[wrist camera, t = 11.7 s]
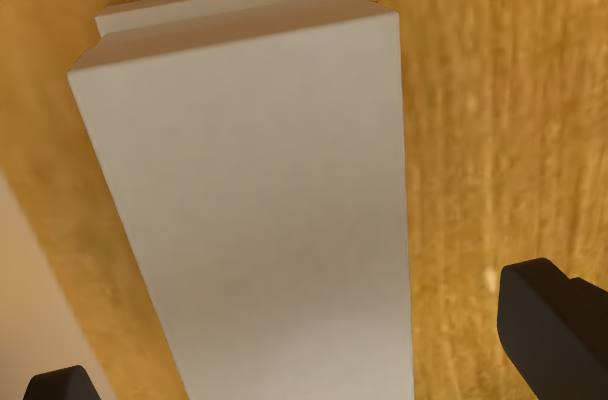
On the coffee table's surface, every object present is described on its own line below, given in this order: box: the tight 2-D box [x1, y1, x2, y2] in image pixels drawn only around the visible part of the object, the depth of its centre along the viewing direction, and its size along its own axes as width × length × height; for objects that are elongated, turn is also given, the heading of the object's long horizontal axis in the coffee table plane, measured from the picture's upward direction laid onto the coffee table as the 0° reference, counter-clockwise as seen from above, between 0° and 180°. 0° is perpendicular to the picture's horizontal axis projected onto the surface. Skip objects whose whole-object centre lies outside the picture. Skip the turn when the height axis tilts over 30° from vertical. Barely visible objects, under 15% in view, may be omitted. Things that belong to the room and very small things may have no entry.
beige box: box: [95, 0, 355, 47], centre depth 15 cm, size 12×6×4 cm, turn 8°
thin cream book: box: [66, 0, 415, 400], centre depth 12 cm, size 11×6×2 cm, turn 8°
